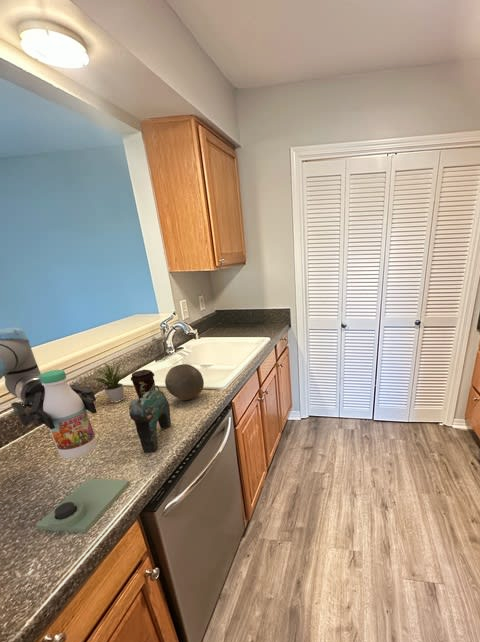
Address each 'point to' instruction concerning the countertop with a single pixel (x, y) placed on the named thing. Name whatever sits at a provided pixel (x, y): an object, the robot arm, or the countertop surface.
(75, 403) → the milk bottle
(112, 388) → the house plant
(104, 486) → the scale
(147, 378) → the coffee cup
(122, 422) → the countertop surface
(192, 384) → the dark brown ball
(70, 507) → the tare button
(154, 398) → the teal painted figure
